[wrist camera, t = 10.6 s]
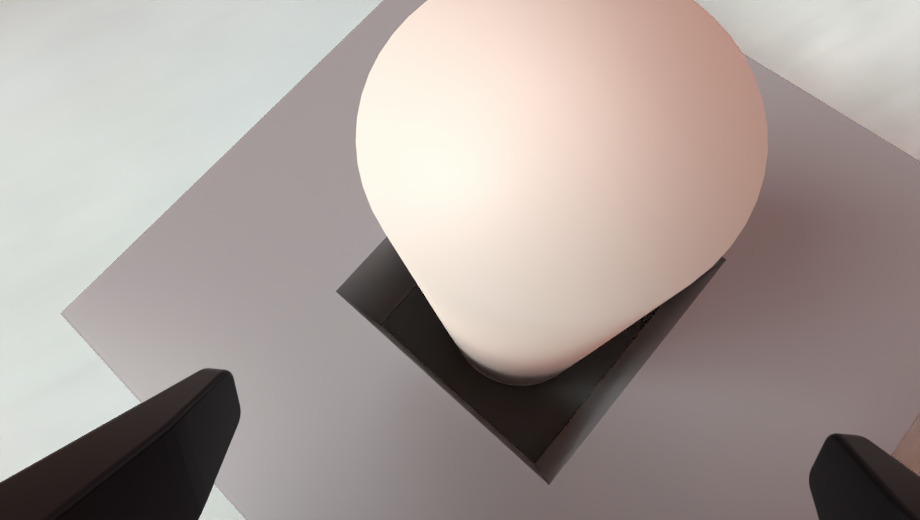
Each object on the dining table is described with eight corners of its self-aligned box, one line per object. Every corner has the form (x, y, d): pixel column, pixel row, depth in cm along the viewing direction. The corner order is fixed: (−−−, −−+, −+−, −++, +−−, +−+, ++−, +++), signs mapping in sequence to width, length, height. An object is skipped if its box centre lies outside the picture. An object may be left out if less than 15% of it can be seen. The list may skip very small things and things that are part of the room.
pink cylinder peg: (617, 308, 17) (851, 93, 6) (528, 416, 17) (594, 421, 5) (510, 224, 18) (527, -101, 7) (422, 323, 18) (275, 148, 6)
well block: (885, 285, 17) (1039, 234, 12) (561, 738, 14) (592, 903, 9) (491, 18, 21) (488, -102, 16) (178, 340, 18) (60, 313, 13)
